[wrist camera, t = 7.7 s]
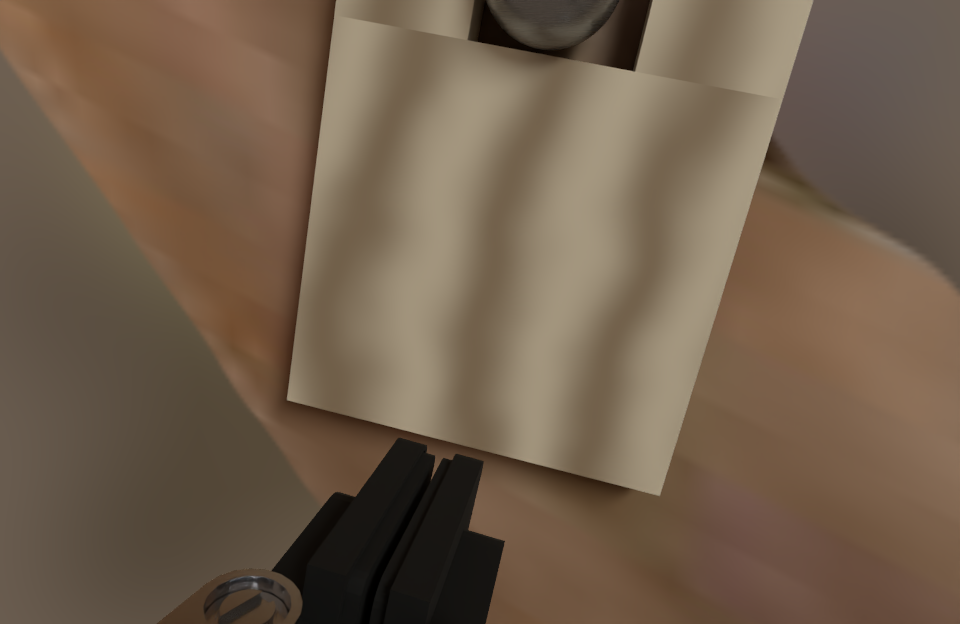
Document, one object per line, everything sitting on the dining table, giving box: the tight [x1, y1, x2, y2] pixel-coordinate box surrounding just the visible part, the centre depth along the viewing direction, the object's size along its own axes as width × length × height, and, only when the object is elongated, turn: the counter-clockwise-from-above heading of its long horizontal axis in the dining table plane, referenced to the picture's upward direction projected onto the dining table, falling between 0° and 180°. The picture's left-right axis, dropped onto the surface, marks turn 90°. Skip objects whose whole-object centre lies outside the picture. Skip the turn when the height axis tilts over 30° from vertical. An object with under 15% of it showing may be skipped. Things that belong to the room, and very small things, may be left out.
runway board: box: [287, 0, 813, 496], centre depth 29 cm, size 20×30×2 cm, turn 169°
